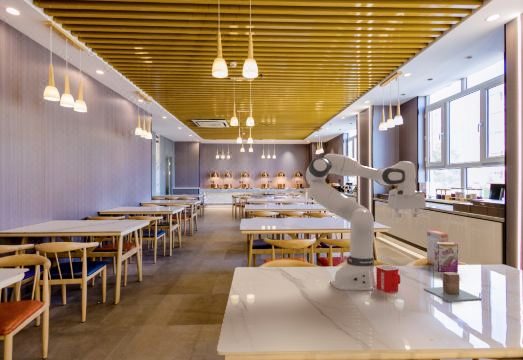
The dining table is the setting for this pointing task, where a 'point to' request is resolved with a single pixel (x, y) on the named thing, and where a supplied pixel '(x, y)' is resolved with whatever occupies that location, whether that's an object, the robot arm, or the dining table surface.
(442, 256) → the candy bar box
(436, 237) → the cracker box
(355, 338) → the dining table surface
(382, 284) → the mug
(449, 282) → the walnut block
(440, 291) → the rubber mat
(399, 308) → the dining table surface
